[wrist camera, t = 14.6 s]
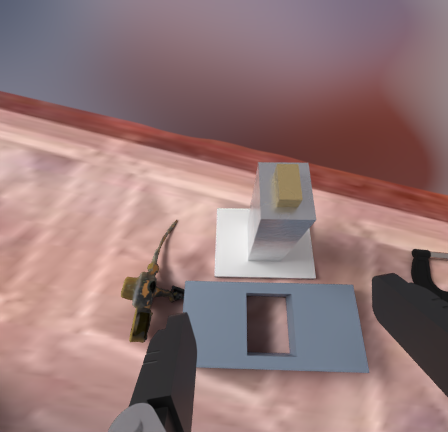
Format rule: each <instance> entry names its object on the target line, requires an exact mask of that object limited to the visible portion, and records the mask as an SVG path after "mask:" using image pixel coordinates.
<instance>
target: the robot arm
mask: <svg viewBox="0 0 448 432" xmlns="http://www.w3.org/2000/svg"><path fill="white" fill-rule="evenodd" d="M372 307H373V312H374V314H375V316H376V318H377V320H378V321H379V323H380V324H381V325H382V326H383V327H384V328H385V329H386V330H387V331H388V332H389V334H390V335H391V336H392V337H393V338H394V339H395V340H396V341H397V342H398V343H399V344H400V346H401V347H402V348H403V349H404V350H405V351H406V352H407V353H408V354H409V355H410V356H411V358H412V359H413V360H414V361H415V362H416V363H417V364H418V365H419V366H420V367H421V368H422V369H423V371H424V372H425V373H426V374H427V375H428V376H429V377H430V378H431V379H432V380H433V381H434V383H435V384H436V385H437V386H438V387H439V388H440V389H441V390H442V391H443V392H444V393H445V395H446V396H447V397H448V303H447V302H446V301H444V300H441V299H440V297H438V296H437V295H435V294H434V293H433V292H431V291H430V290H428V289H426V288H424V287H421V286H419V285H416V284H414V283H408V282H406V281H405V280H404V279H402V278H401V277H399V276H398V275H397V274H395V273H389V274H384V275H379V276H374V277H373V279H372ZM146 353H147V354H146V355H145V358H144V361H143V365H142V368H141V371H140V374H139V377H138V380H137V383H136V386H135V389H134V392H133V395H132V398H131V401H130V404H129V407H128V408H127V409H125V410H124V411H123V412H122V413H121V414H119V416H118V417H117V418H116V419H115V420H114V422H113V423H112V425H111V426H110V428H109V431H108V432H191V426H192V414H193V401H194V389H195V377H196V364H197V344H196V339H195V336H194V332H193V329H192V326H191V322H190V319H189V315H188V313H187V312H184V313H179V314H173V315H169V317H168V321H167V324H166V328H165V329H162V330H158V331H157V333H156V334H155V335H154V337H153V338H152V339H151V341H150V343H149V346H148V349H147V352H146Z"/></svg>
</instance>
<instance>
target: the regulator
mask: <svg viewBox="0 0 448 432" xmlns="http://www.w3.org/2000/svg"><path fill="white" fill-rule="evenodd" d="M176 223H177V220H176V221H175V222H174V223H173V224H172V225H171V226H170V228H169V229H168V231H167V232H166V234H165V235H164V236H163V238H162V240H161V242H160V245H159V247H158V249H156V251H155V253H154V256H153V260H152V263H151V264H149V265H148V268H147V269H148V271H149V272H142V273H141V274H140V276H139V277H138V278H133V277H127V278H126V279H125V281H124V285H123V288H122V291H121V297H122V298H125V299H128V300H133V303H132V305H133V306H134V307H135V308H136V311H135V315H134V320H133V325H132V329H131V334H130V339H129V341H130V342H142V343H143V342H145V340H147V333H148V329H149V326H150V321H151V316H152V315H153V313H151V310H150V309H151V305H152V301H153V298H154V297H158V296H163V297H170V301H171V302H173V301H174V300H179V299H180V298H181V299H183V300H184V296H183V294H184V293H185V290H184V289H181V288H178V287H176V286H172V289H171V291H169V290H165V289H161V288H158V287H156V280H157V279H156V277H155V275H156V273H158V270H159V266H158V264H157V259H158V255H159V252H160V248H161V246H162V244H163V242H164V240H165V239H166V237H167V235H168V234H169V232H170V231H171V230H172V229H173V227H174V226H175V225H176ZM150 289H151V290H152V291H151V290H150ZM173 290H174V291H173ZM172 291H173V292H172Z"/></svg>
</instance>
